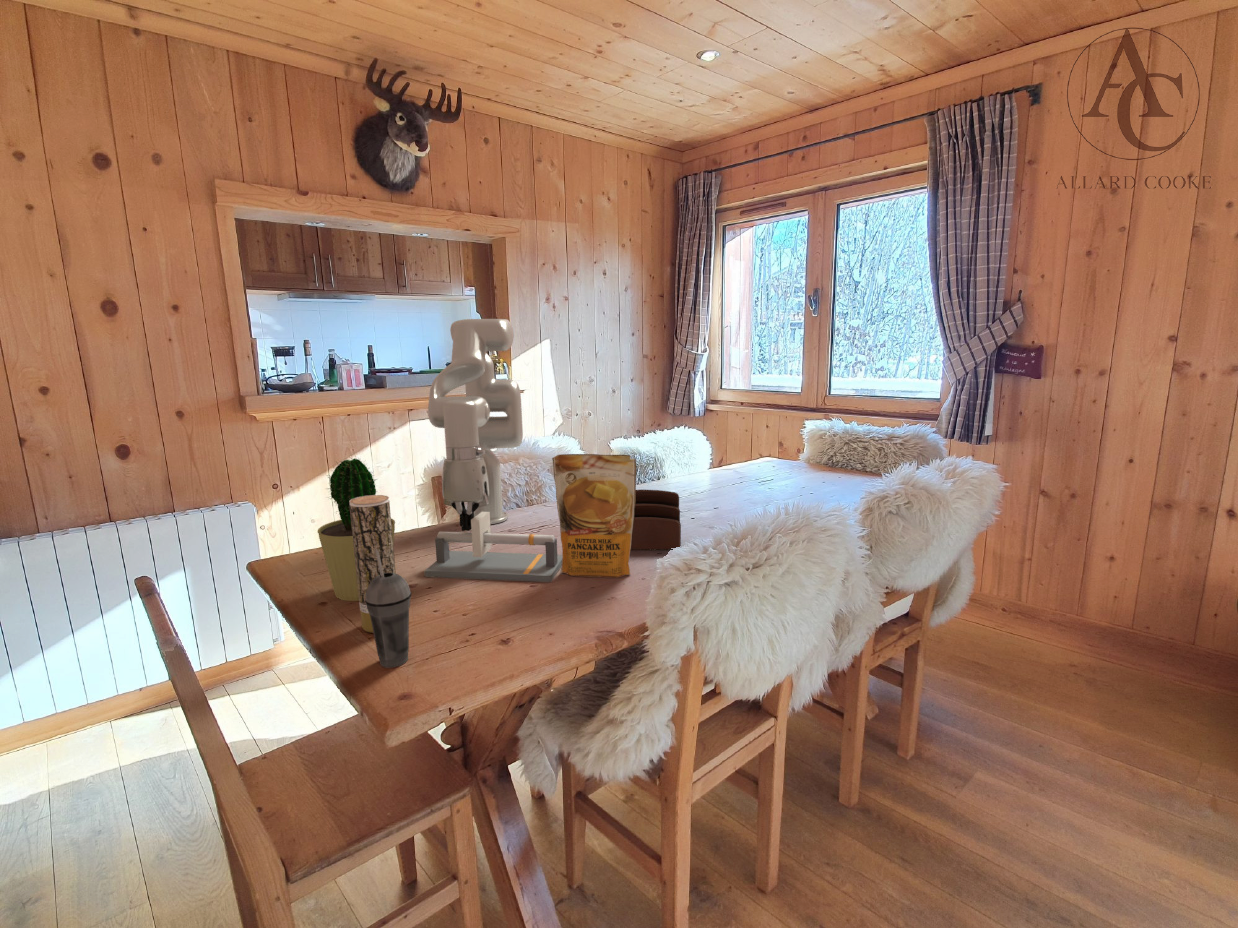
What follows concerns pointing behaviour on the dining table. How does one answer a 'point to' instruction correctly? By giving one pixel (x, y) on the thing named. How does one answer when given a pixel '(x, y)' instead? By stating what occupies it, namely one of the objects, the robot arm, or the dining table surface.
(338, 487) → the potted cactus
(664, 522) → the letter holder
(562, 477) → the pancake mix bag
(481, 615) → the dining table surface
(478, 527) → the collar
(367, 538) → the bark wrapped tube
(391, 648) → the beverage cup
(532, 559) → the pipe rig
